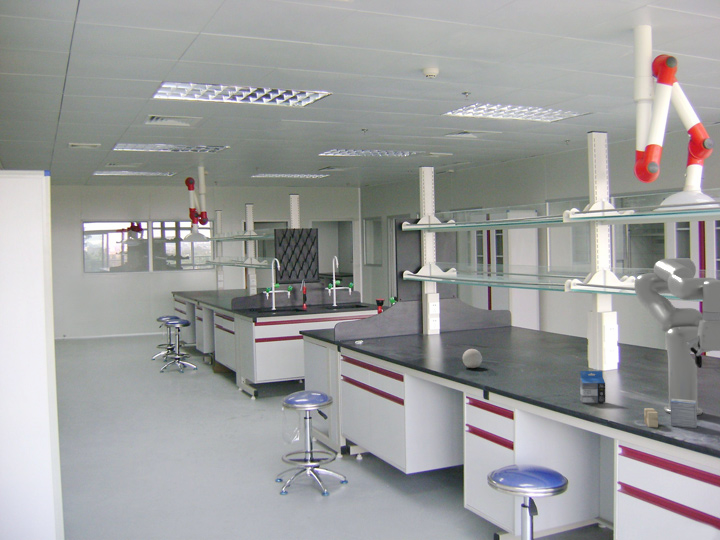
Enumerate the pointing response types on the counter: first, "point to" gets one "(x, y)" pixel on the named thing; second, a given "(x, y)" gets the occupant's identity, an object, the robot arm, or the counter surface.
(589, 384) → the blue and grey box
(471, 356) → the grey felt ball
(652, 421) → the bench stop
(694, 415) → the medicine box
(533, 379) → the counter surface
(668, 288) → the robot arm
